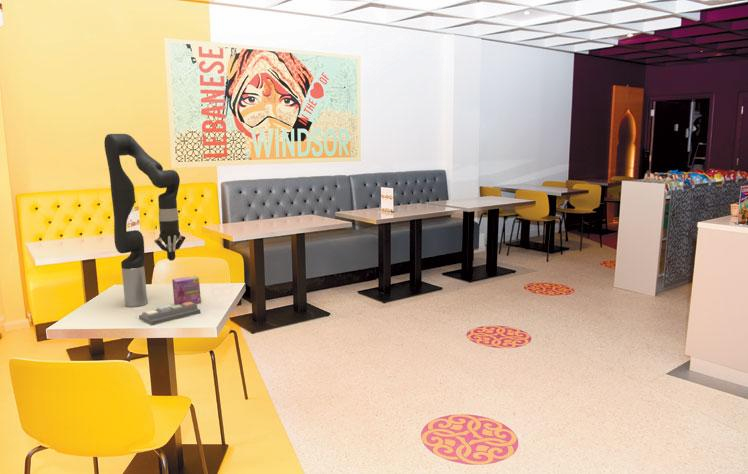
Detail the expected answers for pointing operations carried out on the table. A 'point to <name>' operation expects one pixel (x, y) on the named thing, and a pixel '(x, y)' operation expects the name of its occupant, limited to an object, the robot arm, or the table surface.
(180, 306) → the key sage
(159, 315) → the keypad
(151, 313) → the key cream
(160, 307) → the key blue
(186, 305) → the key terracotta
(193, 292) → the box
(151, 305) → the table surface
